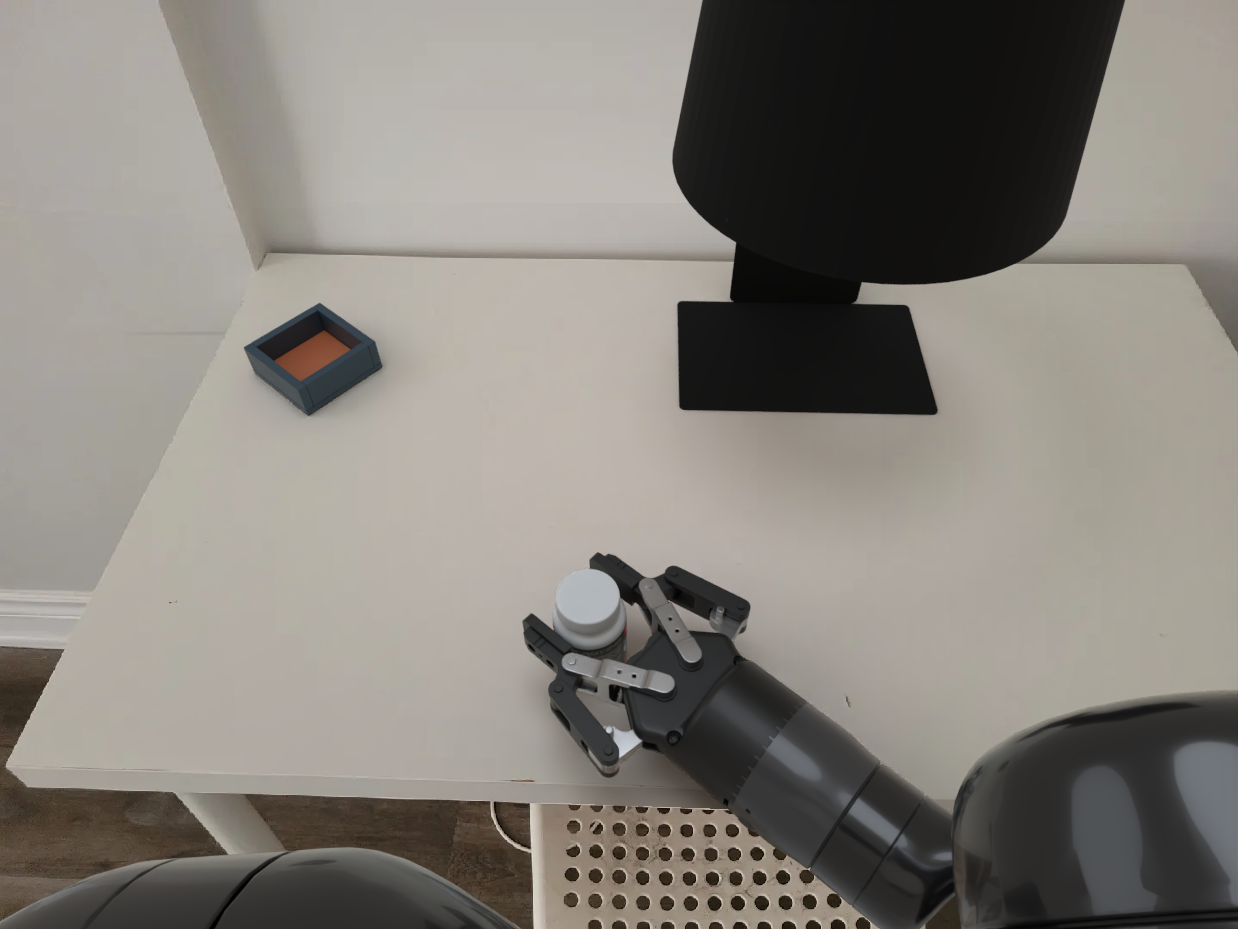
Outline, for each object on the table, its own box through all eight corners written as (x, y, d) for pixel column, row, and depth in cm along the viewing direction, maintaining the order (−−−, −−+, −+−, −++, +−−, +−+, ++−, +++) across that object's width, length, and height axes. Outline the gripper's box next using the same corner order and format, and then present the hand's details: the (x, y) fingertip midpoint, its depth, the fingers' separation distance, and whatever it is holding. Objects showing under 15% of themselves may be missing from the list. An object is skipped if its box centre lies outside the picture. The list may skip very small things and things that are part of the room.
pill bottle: (639, 671, 60) (641, 607, 53) (578, 704, 58) (572, 642, 52) (605, 618, 62) (603, 551, 56) (546, 649, 61) (536, 583, 55)
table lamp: (923, 296, 85) (1090, -211, 55) (994, 532, 67) (1303, -30, 37) (660, 292, 86) (681, -212, 55) (660, 524, 68) (691, -35, 37)
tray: (308, 416, 75) (298, 390, 73) (254, 372, 79) (242, 347, 76) (382, 367, 79) (375, 341, 77) (328, 327, 83) (319, 302, 80)
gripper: (857, 643, 50) (633, 490, 57) (702, 839, 43) (470, 637, 51) (833, 701, 56) (632, 555, 63) (693, 882, 49) (485, 695, 56)
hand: (561, 593), depth 57 cm, fingers open, 5 cm apart
